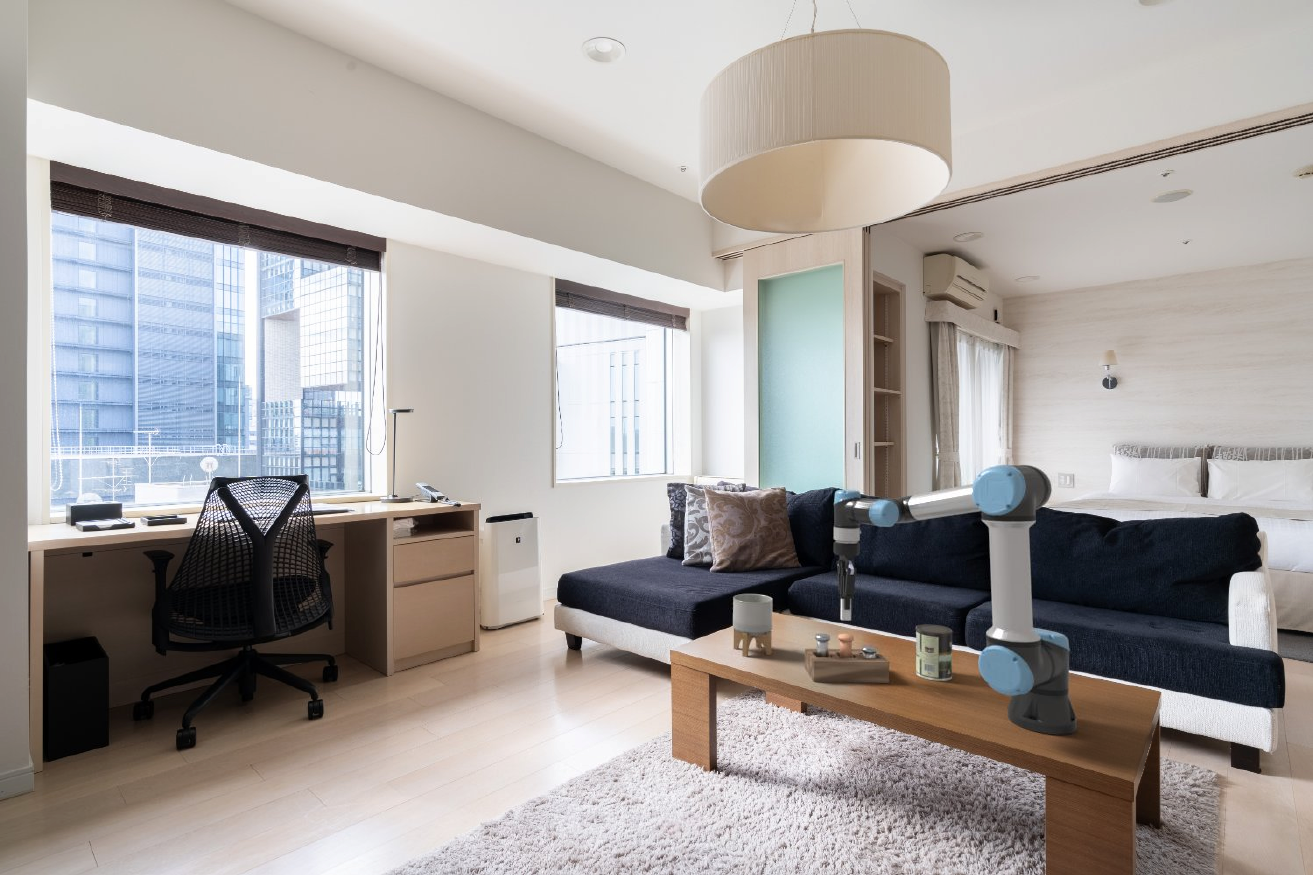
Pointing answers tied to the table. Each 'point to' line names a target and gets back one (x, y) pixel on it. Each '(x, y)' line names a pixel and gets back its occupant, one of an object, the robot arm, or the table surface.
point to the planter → (752, 621)
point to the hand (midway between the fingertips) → (845, 619)
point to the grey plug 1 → (822, 644)
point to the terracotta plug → (845, 645)
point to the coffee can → (934, 652)
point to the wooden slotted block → (846, 667)
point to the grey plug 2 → (868, 651)
